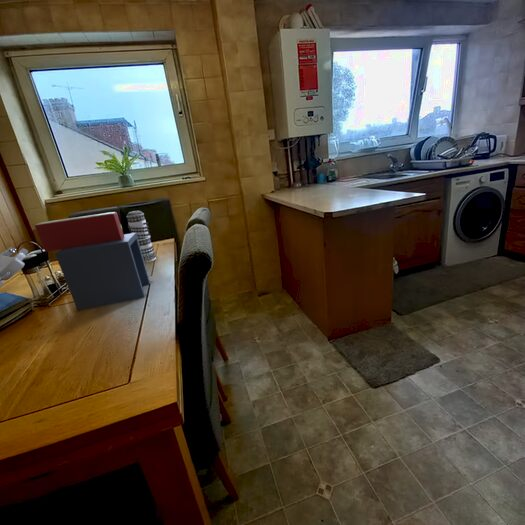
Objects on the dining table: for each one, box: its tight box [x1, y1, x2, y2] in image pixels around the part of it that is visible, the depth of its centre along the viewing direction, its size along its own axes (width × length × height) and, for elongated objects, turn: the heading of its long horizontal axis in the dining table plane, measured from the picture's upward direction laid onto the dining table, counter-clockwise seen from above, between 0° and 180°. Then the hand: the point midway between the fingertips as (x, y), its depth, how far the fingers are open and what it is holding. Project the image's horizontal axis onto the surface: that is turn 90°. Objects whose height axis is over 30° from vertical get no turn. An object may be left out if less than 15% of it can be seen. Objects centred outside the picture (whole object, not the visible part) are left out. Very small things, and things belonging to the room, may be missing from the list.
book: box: [34, 211, 124, 253], centre depth 94 cm, size 24×4×9 cm, turn 103°
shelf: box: [54, 232, 151, 311], centre depth 100 cm, size 22×14×21 cm, turn 103°
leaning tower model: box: [126, 210, 157, 264], centre depth 137 cm, size 9×9×25 cm
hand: (19, 248), depth 100 cm, fingers open, 8 cm apart
